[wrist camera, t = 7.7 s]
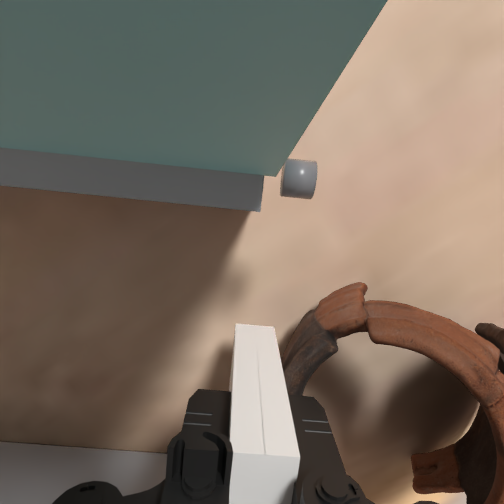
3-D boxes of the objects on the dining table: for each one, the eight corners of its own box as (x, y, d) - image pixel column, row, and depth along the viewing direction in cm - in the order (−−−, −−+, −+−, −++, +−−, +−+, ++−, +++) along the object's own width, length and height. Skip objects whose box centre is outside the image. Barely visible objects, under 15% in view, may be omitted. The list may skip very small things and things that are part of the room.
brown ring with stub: (369, 497, 18) (331, 654, 11) (282, 324, 21) (201, 355, 13) (651, 412, 14) (905, 571, 7) (501, 208, 16) (563, 156, 9)
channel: (-207, 111, 14) (-479, 74, 8) (292, 165, 14) (318, 160, 9) (-156, 449, 17) (-334, 572, 11) (253, 477, 17) (257, 604, 12)
